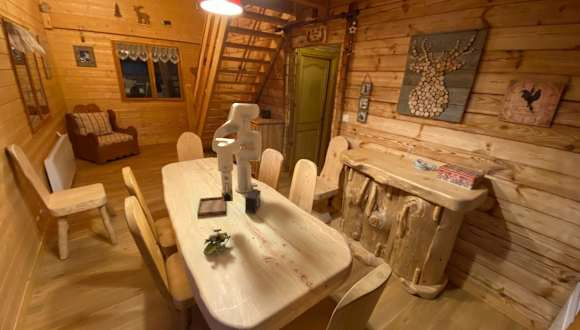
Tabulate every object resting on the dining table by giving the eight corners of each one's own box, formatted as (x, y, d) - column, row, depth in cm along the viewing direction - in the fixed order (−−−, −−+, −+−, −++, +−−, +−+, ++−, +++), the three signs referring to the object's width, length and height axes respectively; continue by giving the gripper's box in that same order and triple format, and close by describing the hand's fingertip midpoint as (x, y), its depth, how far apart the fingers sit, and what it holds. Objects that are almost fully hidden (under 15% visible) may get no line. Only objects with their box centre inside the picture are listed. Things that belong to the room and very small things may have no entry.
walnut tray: (225, 199, 154) (225, 196, 154) (225, 214, 139) (225, 210, 138) (200, 201, 150) (199, 198, 150) (197, 216, 135) (197, 213, 134)
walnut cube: (232, 195, 130) (232, 187, 128) (232, 201, 125) (232, 191, 123) (222, 196, 129) (221, 187, 127) (222, 201, 124) (221, 192, 122)
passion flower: (219, 253, 116) (230, 230, 117) (225, 264, 106) (237, 239, 108) (197, 246, 110) (210, 223, 111) (202, 258, 101) (215, 232, 102)
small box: (255, 214, 140) (255, 198, 136) (244, 212, 141) (244, 197, 137) (261, 205, 150) (261, 190, 146) (251, 204, 151) (251, 189, 147)
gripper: (233, 173, 114) (235, 205, 120) (232, 160, 129) (233, 190, 136) (217, 174, 112) (220, 207, 118) (218, 161, 127) (220, 191, 134)
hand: (227, 197), depth 127 cm, fingers closed on walnut cube, 5 cm apart
